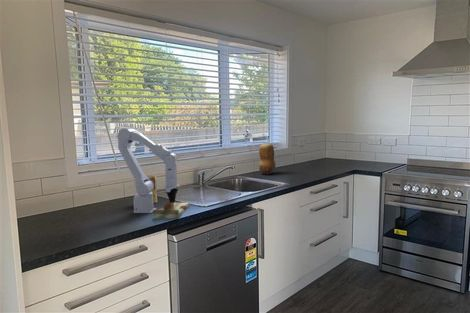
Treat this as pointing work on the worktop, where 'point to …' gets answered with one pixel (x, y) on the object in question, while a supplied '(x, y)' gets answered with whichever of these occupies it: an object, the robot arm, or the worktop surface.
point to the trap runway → (171, 211)
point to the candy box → (153, 179)
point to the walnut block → (168, 206)
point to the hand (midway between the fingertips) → (172, 203)
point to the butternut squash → (266, 158)
